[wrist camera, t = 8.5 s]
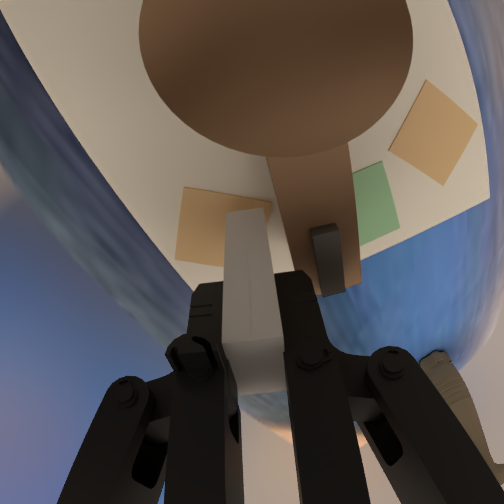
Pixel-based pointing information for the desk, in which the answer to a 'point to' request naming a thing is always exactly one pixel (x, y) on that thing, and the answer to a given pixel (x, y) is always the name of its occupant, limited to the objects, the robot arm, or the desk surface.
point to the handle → (459, 403)
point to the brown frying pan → (286, 101)
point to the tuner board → (247, 165)
